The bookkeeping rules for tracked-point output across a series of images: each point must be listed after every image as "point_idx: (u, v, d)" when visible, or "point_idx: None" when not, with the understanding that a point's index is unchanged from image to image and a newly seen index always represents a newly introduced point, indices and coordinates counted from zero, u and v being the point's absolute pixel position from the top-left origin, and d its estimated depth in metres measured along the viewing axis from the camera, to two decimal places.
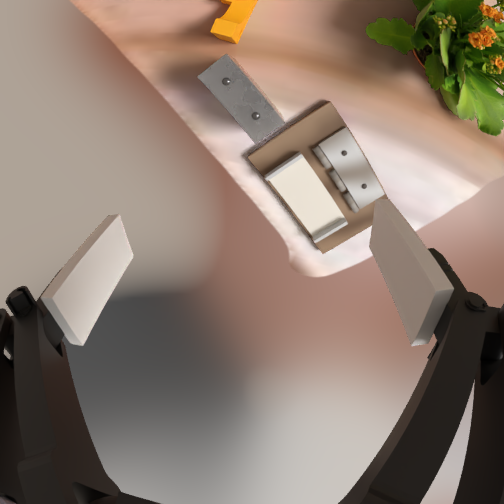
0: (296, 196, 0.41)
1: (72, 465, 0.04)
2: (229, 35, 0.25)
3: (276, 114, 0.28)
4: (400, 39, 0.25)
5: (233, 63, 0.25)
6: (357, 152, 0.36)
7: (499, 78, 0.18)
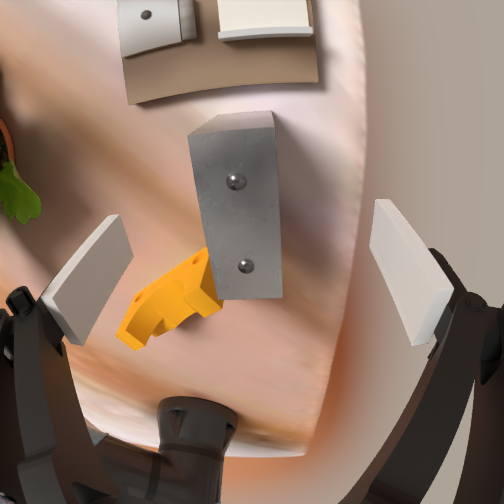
0: None
1: (72, 465, 0.04)
2: (200, 291, 0.21)
3: (194, 161, 0.13)
4: (15, 178, 0.20)
5: (216, 282, 0.17)
6: (124, 11, 0.13)
7: None
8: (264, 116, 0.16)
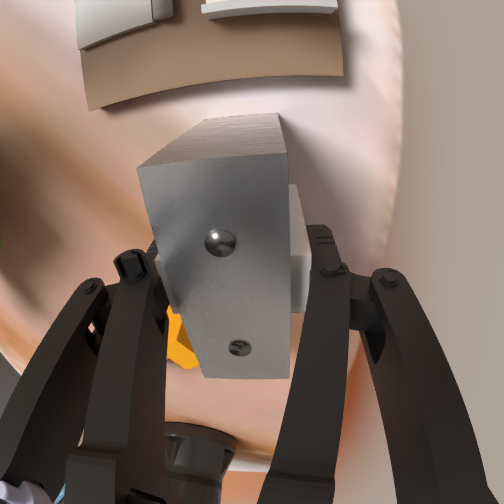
0: None
1: (135, 468, 0.04)
2: (178, 344, 0.16)
3: (151, 210, 0.08)
4: None
5: (201, 361, 0.12)
6: None
7: None
8: (268, 124, 0.11)
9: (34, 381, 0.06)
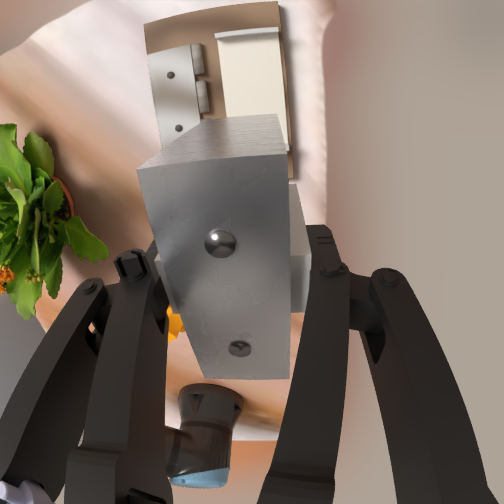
0: (267, 100, 0.26)
1: (136, 468, 0.04)
2: None
3: (151, 211, 0.08)
4: (81, 228, 0.33)
5: (201, 362, 0.12)
6: (162, 122, 0.27)
7: None
8: (268, 125, 0.11)
9: (34, 381, 0.06)
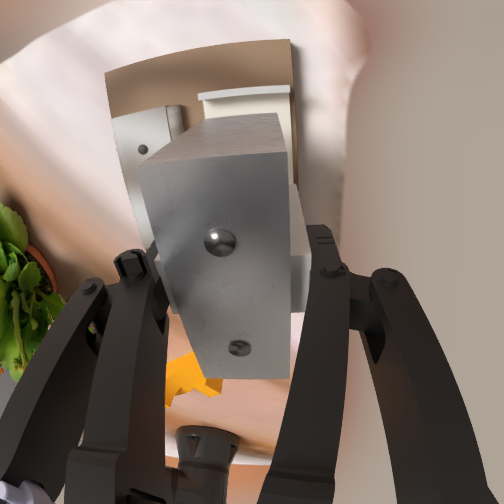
0: None
1: (135, 468, 0.04)
2: (205, 386, 0.30)
3: (151, 210, 0.08)
4: (64, 304, 0.29)
5: (201, 362, 0.12)
6: (138, 209, 0.23)
7: None
8: (268, 124, 0.11)
9: (34, 381, 0.06)
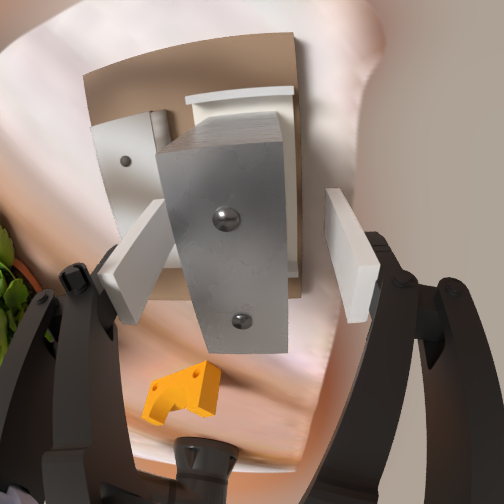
0: None
1: (104, 464, 0.04)
2: (199, 407, 0.27)
3: (166, 191, 0.09)
4: None
5: (206, 336, 0.13)
6: (123, 227, 0.20)
7: None
8: (267, 120, 0.12)
9: (4, 387, 0.05)
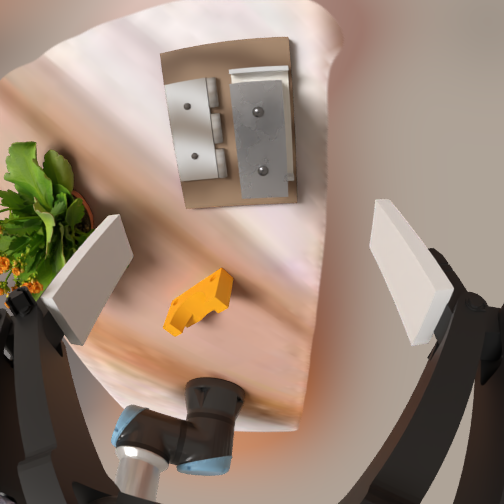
0: None
1: (72, 465, 0.04)
2: (215, 298, 0.38)
3: (232, 99, 0.20)
4: None
5: (242, 184, 0.24)
6: (179, 149, 0.31)
7: None
8: None
9: None
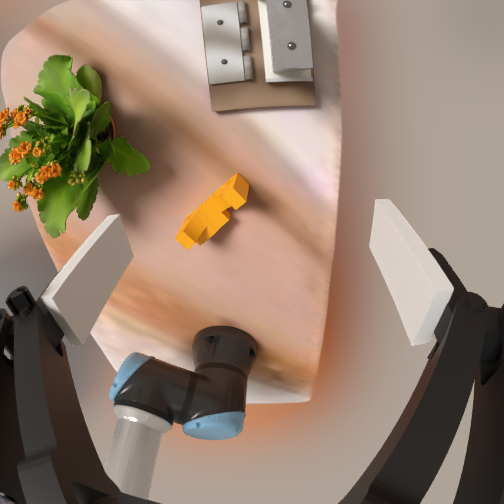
0: None
1: (72, 465, 0.04)
2: (233, 190, 0.37)
3: None
4: (122, 149, 0.37)
5: (274, 56, 0.23)
6: (210, 56, 0.30)
7: (38, 126, 0.25)
8: None
9: None
